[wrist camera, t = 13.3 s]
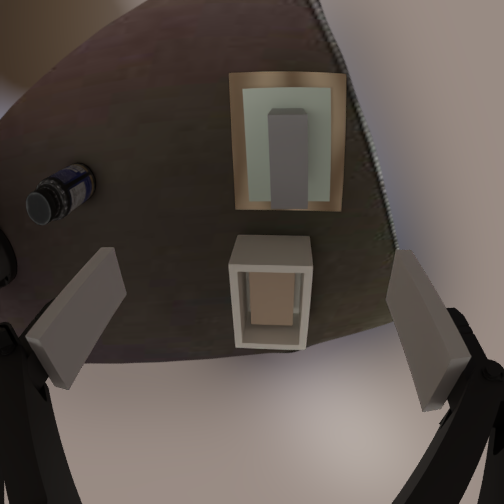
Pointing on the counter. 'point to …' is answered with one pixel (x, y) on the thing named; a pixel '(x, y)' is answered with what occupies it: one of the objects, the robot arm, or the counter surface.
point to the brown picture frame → (337, 130)
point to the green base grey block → (288, 145)
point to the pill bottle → (60, 194)
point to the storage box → (271, 291)
